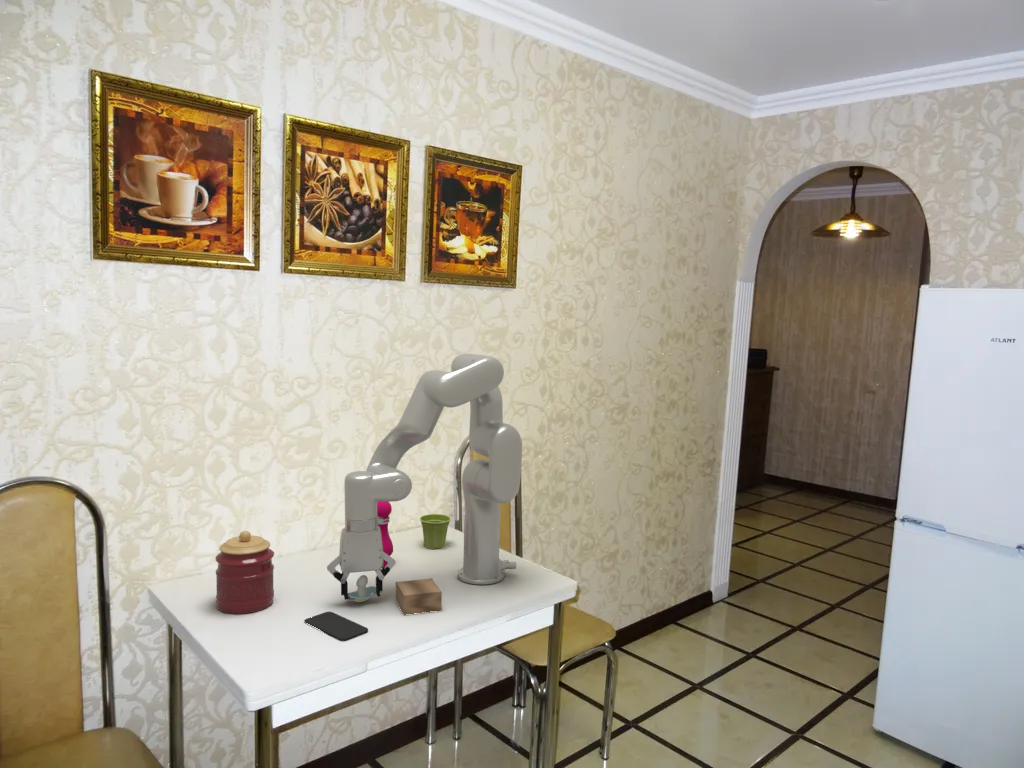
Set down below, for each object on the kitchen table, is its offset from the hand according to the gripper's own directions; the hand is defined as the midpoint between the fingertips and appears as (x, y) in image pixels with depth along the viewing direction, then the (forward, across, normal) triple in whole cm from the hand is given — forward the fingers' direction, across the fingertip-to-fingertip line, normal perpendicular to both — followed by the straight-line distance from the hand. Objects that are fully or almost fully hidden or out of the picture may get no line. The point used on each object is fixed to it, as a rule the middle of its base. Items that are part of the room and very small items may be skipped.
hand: (362, 595), depth 173 cm
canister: (+2, +27, -6) cm, 27 cm away
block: (+2, -13, +5) cm, 14 cm away
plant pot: (+3, -25, -39) cm, 46 cm away
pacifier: (+1, 0, -1) cm, 2 cm away
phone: (+2, +7, +12) cm, 14 cm away
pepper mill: (+2, -7, -26) cm, 27 cm away
